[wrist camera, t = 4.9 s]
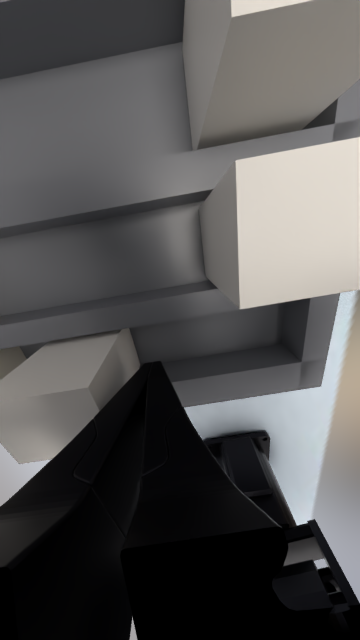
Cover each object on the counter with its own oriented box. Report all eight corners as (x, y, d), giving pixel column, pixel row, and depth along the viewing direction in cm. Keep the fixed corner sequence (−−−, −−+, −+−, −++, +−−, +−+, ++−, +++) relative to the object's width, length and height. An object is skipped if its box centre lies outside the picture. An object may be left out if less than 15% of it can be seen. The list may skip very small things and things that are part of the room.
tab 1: (140, 364, 12) (118, 449, 7) (81, 373, 12) (19, 463, 7) (126, 320, 10) (88, 387, 6) (61, 331, 11) (-33, 406, 6)
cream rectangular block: (286, 143, 8) (491, -38, 3) (193, 160, 8) (231, 17, 3) (293, 26, 6) (703, -709, 1) (182, 49, 6) (215, -562, 2)
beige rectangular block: (279, 263, 10) (390, 284, 5) (205, 276, 10) (239, 309, 5) (283, 193, 8) (442, 121, 3) (198, 208, 8) (235, 160, 4)
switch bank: (286, 353, 14) (323, 388, 11) (41, 392, 15) (2, 437, 11) (323, -32, 7) (472, -304, 3) (-161, 71, 7) (-445, -76, 4)
